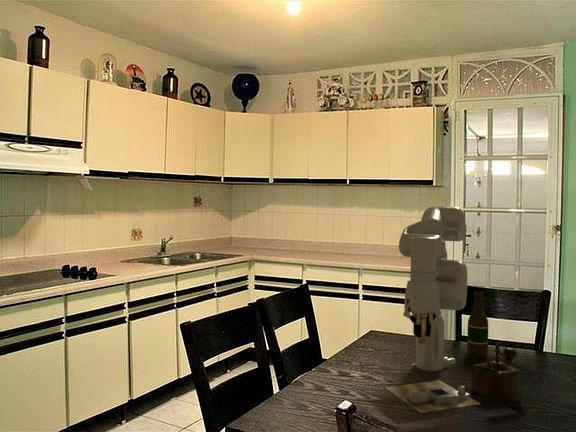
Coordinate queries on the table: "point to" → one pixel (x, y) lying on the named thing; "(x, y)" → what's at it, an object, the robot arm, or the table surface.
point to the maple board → (409, 388)
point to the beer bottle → (477, 328)
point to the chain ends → (437, 396)
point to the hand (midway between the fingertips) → (422, 335)
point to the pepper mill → (498, 377)
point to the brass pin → (423, 328)
